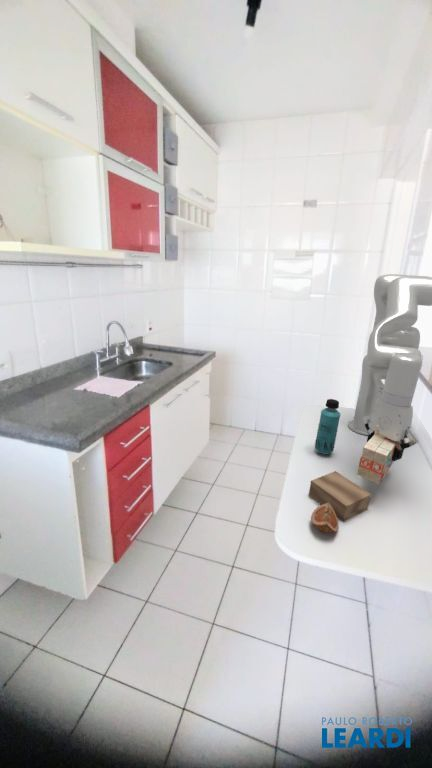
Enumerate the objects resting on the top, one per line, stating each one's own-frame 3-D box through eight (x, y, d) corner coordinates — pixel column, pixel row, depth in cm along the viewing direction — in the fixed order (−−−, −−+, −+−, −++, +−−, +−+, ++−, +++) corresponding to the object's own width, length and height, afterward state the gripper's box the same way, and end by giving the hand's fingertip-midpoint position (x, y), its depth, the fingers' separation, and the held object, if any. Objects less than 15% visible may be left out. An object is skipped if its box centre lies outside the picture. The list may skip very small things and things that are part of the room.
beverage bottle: (314, 446, 123) (322, 395, 117) (333, 450, 121) (343, 398, 115) (312, 455, 118) (321, 402, 111) (333, 460, 116) (343, 405, 109)
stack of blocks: (379, 485, 92) (389, 445, 87) (356, 475, 95) (364, 437, 91) (400, 453, 107) (410, 418, 102) (379, 445, 111) (387, 411, 106)
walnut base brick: (332, 485, 102) (335, 471, 100) (367, 509, 93) (371, 494, 91) (308, 495, 97) (311, 480, 95) (342, 522, 88) (346, 506, 86)
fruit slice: (336, 544, 81) (340, 527, 79) (307, 535, 83) (310, 518, 81) (338, 521, 88) (341, 505, 86) (311, 513, 90) (314, 498, 88)
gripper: (360, 389, 99) (349, 441, 105) (420, 413, 85) (403, 472, 92) (377, 385, 103) (365, 436, 109) (436, 407, 89) (419, 464, 95)
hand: (382, 452), depth 100 cm, fingers closed on stack of blocks, 7 cm apart
